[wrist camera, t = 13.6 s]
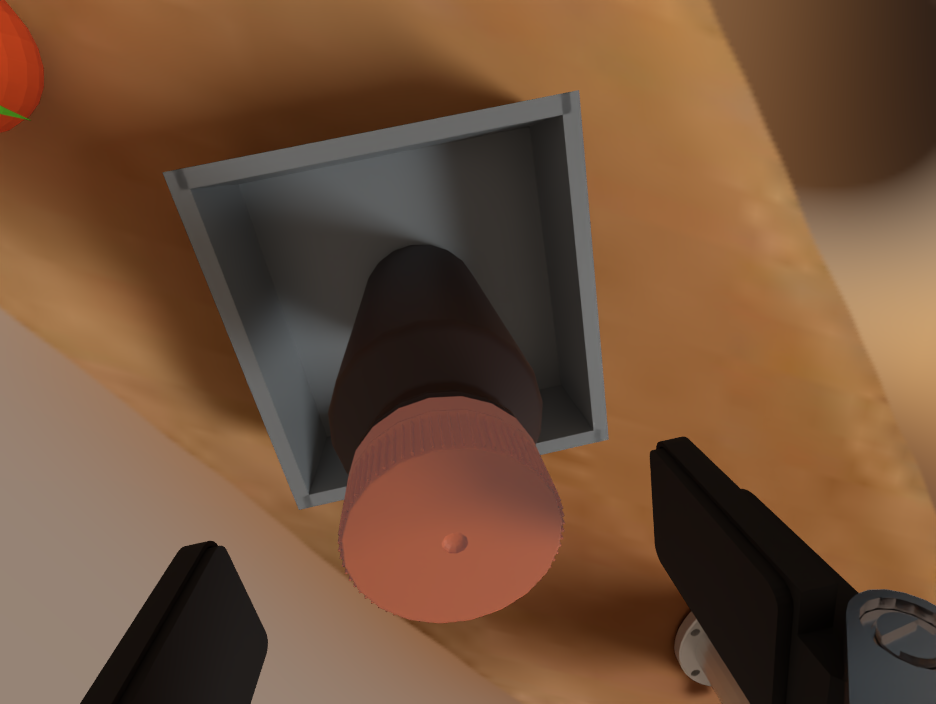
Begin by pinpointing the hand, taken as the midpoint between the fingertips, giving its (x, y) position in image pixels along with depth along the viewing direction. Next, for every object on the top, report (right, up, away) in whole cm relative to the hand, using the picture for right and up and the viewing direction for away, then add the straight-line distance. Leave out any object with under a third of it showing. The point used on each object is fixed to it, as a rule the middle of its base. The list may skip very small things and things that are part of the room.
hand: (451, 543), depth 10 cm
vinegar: (-2, +7, +19) cm, 20 cm away
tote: (-3, +8, +19) cm, 21 cm away
